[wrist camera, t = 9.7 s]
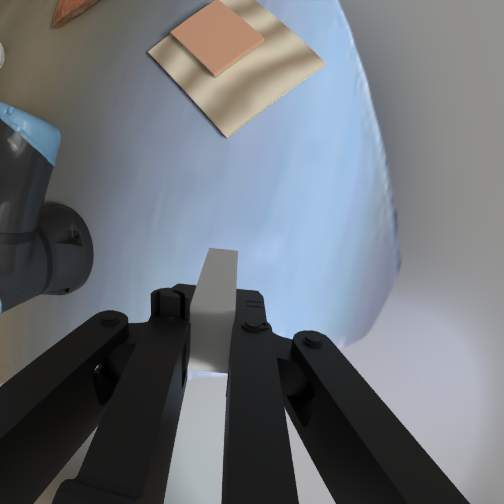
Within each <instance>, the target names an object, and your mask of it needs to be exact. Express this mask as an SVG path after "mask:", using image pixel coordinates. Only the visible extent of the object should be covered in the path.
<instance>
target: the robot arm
mask: <svg viewBox="0 0 504 504" xmlns="http://www.w3.org/2000/svg"><path fill="white" fill-rule="evenodd" d="M60 143H61V135H60V132H59V130H58V129H57V128H56V127H55V126H53V125H51V124H49V123H48V122H46V121H44V120H42V119H39V118H37V117H35V116H33V115H31V114H29V113H26V112H24V111H22V110H20V109H17V108H14V107H12V106H10V105H7V104H5V103H3V102H0V313H2V312H4V311H6V310H9V309H11V308H13V307H15V306H17V305H19V304H21V303H23V302H25V301H27V300H29V299H31V298H33V297H35V296H38V295H40V294H46V295H65V294H69V293H71V292H73V291H75V290H77V289H79V288H80V287H81V286H82V285H83V284H84V283H85V282H86V280H87V279H88V277H89V275H90V272H91V269H92V264H93V245H92V240H91V236H90V233H89V230H88V228H87V226H86V224H85V222H84V221H83V219H82V218H81V217H80V216H79V215H78V214H77V213H76V212H75V211H74V210H72V209H71V208H69V207H66V206H62V205H56V206H47V207H44V208H42V206H43V202H44V198H45V195H46V191H47V187H48V184H49V180H50V177H51V174H52V170H53V168H55V165H56V163H55V160H56V156H57V153H58V149H59V146H60ZM237 259H238V251H234V250H224V249H214V248H209V250H208V253H207V256H206V259H205V262H204V265H203V268H202V271H201V274H200V277H199V280H198V283H197V286H196V285H187V284H177V285H175V286H174V287H172V288H161V289H157V290H155V291H153V292H152V293H151V316H150V318H149V320H148V322H144V323H128V317H127V316H126V315H125V314H123V313H121V312H118V311H114V310H111V311H110V310H107V311H103V312H99V313H97V314H95V315H94V316H93V317H91V318H90V319H88V320H87V321H86V322H84V323H83V324H82V325H80V326H79V327H78V328H76V329H75V330H73V331H72V332H71V333H69V334H68V335H67V336H65V337H64V338H63V339H61V340H60V341H59V342H57V343H56V344H55V345H53V346H52V347H51V348H49V349H48V350H47V351H46V352H44V353H43V354H42V355H40V356H39V357H38V358H36V359H35V360H34V361H32V362H31V363H30V364H29V365H27V366H26V367H25V368H23V369H22V370H21V371H20V372H18V373H17V374H16V375H15V376H13V377H12V378H11V379H9V380H8V381H7V382H6V383H4V384H3V385H2V386H1V387H0V504H34V502H35V501H36V500H37V499H38V497H39V496H40V495H41V494H42V493H43V491H44V490H45V489H46V488H47V486H48V485H49V484H50V483H51V482H52V480H53V479H54V478H55V477H56V475H57V474H58V473H59V472H60V470H61V469H62V468H63V467H64V466H65V464H66V463H67V462H68V461H69V460H70V458H71V457H72V456H73V455H74V454H75V453H76V451H77V450H78V449H79V448H80V446H81V445H82V444H83V443H84V442H85V440H86V439H87V438H88V437H89V436H90V434H91V433H92V432H93V431H94V430H95V428H96V427H97V426H98V428H97V430H96V433H95V435H94V437H93V439H92V442H91V444H90V447H89V449H88V451H87V454H86V456H85V459H84V461H83V463H82V466H81V468H80V471H79V473H78V475H77V477H76V478H75V479H66V480H65V481H63V482H62V483H61V484H60V486H59V488H58V490H57V492H56V494H55V497H54V499H53V502H52V504H163V503H164V498H165V492H166V486H167V480H168V474H169V469H170V463H171V458H172V452H173V447H174V442H175V437H176V432H177V426H178V421H179V416H180V411H181V406H182V401H183V397H184V392H185V387H186V382H187V367H188V363H189V369H191V370H200V371H209V372H218V373H228V380H227V390H226V415H225V434H224V455H223V478H222V504H299V501H298V495H297V488H296V481H295V474H294V467H293V461H292V454H291V448H290V441H289V434H288V429H287V422H286V416H285V409H286V411H287V413H288V415H289V417H290V419H291V421H292V422H293V425H294V426H295V428H296V430H297V432H298V434H299V436H300V438H301V440H302V442H303V444H304V446H305V447H306V449H307V451H308V453H309V455H310V457H311V459H312V461H313V462H314V464H315V466H316V468H317V470H318V472H319V474H320V476H321V477H322V479H323V481H324V483H325V485H326V487H327V488H328V490H329V492H330V494H331V496H332V497H333V499H334V501H335V503H336V504H470V503H469V502H468V501H467V500H466V499H465V497H464V496H463V495H462V494H461V493H460V491H459V490H458V489H457V488H456V487H455V485H454V484H453V483H452V482H451V481H450V480H449V478H448V477H447V476H446V475H445V474H444V473H443V471H442V470H441V469H440V468H439V467H438V465H437V464H436V463H435V462H434V461H433V459H431V457H430V456H429V455H428V454H427V453H426V451H425V450H424V449H423V448H422V447H421V445H420V444H419V443H418V442H417V441H416V440H415V438H414V437H413V436H412V435H411V434H410V432H409V431H408V430H407V429H406V428H405V427H404V425H403V424H402V423H401V422H400V421H399V420H398V418H397V417H396V416H395V415H394V414H393V412H392V411H391V410H390V409H389V408H388V407H387V405H386V404H385V403H384V402H383V401H382V400H381V398H380V397H379V396H378V395H377V394H376V393H375V391H374V390H373V389H372V388H371V387H370V385H369V384H368V383H367V382H366V381H365V380H364V378H363V377H362V376H361V375H360V374H359V373H358V371H357V370H356V369H355V368H354V367H353V366H352V364H351V363H350V362H349V361H348V360H347V359H346V357H345V356H344V355H343V354H342V353H341V352H340V350H339V349H338V348H337V347H336V346H335V345H334V343H333V342H332V341H331V340H330V339H329V338H328V337H327V336H326V335H324V334H321V333H319V332H317V331H311V330H310V331H300V332H298V333H296V334H295V335H294V337H293V340H292V339H288V338H284V337H281V336H278V335H276V334H274V333H273V332H272V327H271V325H270V324H269V323H268V322H267V319H266V313H265V306H264V299H263V296H262V295H261V294H260V293H259V292H258V291H253V290H243V289H236V283H237ZM97 365H98V368H97V369H96V370H95V368H96V367H97ZM284 407H285V409H284Z"/></svg>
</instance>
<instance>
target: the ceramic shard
mask: <svg viewBox="0 0 504 504" xmlns="http://www.w3.org/2000/svg"><path fill="white" fill-rule="evenodd" d="M98 1H99V0H59V1H58V4H57V6H56V9H55V13H54V17H53V21H52V27H53V28H60V27H62V26H64V25H65V24H67V23H68V22H70V21H71V20H73V19H74V18H75V17H77V16H78V15H80V14H82V13H83V12H85V11H86V10H87V9H88V8H89V7H90V6H92V5H94V4H95V3H97V2H98Z"/></svg>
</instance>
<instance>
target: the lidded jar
mask: <svg viewBox="0 0 504 504" xmlns="http://www.w3.org/2000/svg"><path fill="white" fill-rule="evenodd" d="M4 61H5V53H4V47H3V45H2V44H1V42H0V69H1V67H2V65H3V63H4Z"/></svg>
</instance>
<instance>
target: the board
mask: <svg viewBox="0 0 504 504" xmlns="http://www.w3.org/2000/svg"><path fill="white" fill-rule="evenodd" d="M219 1H221V2H222V3H223V4H225V5H226V6H227V7H228V8H230V9H231V10H232V11H233V12H235V13H236V14H237V15H238V16H239V17H241V18H242V19H243V20H244V21H245V22H247V23H248V24H249V25H250V26H251V27H252V28H254V29H255V30H256V31H257V32H258V33H259V34H260V35H262V36H263V37H264V40H265V43H264V44H263V45H261V46H260V47H258V48H257V49H255V50H254V51H252V52H251V53H249V54H248V55H246V56H245V57H244V58H242V59H241V60H239V61H238V62H237V63H235V64H234V65H233V66H231V67H230V68H229V69H227V70H226V71H225V72H223V73H222V74H221V75H219V76H218V77H217V78H215V77H214V76H213V75H212V74H211V73H210V72H209V71H208V70H207V69H206V68H205V67H204V66H203V65H202V64H201V63H200V62H199V61H198V60H197V59H196V58H195V57H194V56H193V55H192V54H191V53H190V52H189V51H188V50H187V49H186V48H185V47H184V46H183V45H182V44H181V43H180V42H179V41H177V40H176V39H175V38H174V37H173V35H172V34H169V35H168V36H167V37H166V38H164V39H163V40H162V41H161V42H159V43H158V44H157V45H156V46H154V47H153V48H152V49H151V50H150V51H148V53H149V54H150V55H151V56H152V57H153V58H154V59H155V60H156V61H157V62H158V63H159V64H160V65H161V66H162V67H163V68H164V69H165V70H166V71H167V72H168V73H169V75H170V76H171V77H172V78H173V79H174V80H175V81H176V82H177V83H178V84H179V85H180V86H181V87H182V88H183V90H184V91H185V92H186V93H187V94H188V95H189V96H190V97H191V98H192V99H193V100H194V102H195V103H196V104H197V105H198V106H199V107H200V108H201V109H202V110H203V112H204V113H205V114H206V115H207V116H208V117H209V118H210V119H211V121H212V122H213V123H214V124H215V125H216V126H217V127H218V128H219V130H220V131H221V132H222V133H223V134H224V135H225V136H226V138H227V139H228V138H229V137H231V136H232V135H233V134H234V133H236V132H237V131H238V130H239V129H240V128H242V127H243V126H244V125H246V124H247V123H248V122H249V121H251V120H252V119H253V118H254V117H256V116H257V115H258V114H260V113H261V112H262V111H264V110H265V109H266V108H267V107H269V106H270V105H271V104H273V103H274V102H275V101H277V100H278V99H280V98H281V97H282V96H284V95H285V94H286V93H288V92H289V91H290V90H292V89H293V88H295V87H296V86H297V85H299V84H300V83H302V82H303V81H305V80H306V79H307V78H309V77H310V76H312V75H313V74H315V73H316V72H318V71H319V70H321V69H322V68H324V67H325V66H326V63H325V62H324V61H323V60H322V59H321V58H320V57H319V56H318V55H317V54H316V53H315V52H314V51H313V50H312V49H311V48H310V47H309V46H308V45H307V44H305V43H304V42H303V41H302V40H301V39H300V38H299V37H298V36H297V35H296V34H295V33H293V32H292V31H291V30H290V29H289V28H288V27H287V26H286V25H284V24H283V23H282V22H281V21H280V20H279V19H277V18H276V17H275V16H274V15H273V14H271V13H270V12H269V11H268V10H267V9H265V8H264V7H263V6H262V5H260V4H259V3H258V2H256V1H255V0H219Z"/></svg>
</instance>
